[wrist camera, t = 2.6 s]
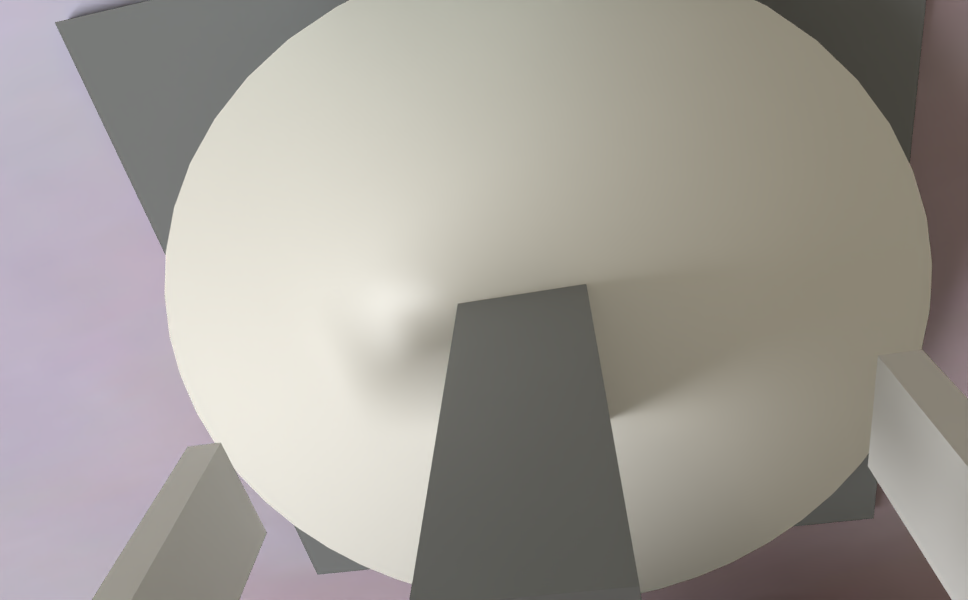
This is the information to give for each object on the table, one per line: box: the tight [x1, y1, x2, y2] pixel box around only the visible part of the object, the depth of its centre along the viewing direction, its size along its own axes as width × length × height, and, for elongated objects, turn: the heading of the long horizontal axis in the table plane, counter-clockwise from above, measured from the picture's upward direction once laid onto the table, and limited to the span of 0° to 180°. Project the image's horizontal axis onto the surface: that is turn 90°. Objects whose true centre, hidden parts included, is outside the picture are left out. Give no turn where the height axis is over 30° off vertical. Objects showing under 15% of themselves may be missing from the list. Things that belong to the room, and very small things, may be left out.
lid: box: [165, 0, 932, 600], centre depth 14 cm, size 18×18×10 cm
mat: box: [55, 0, 926, 574], centre depth 19 cm, size 19×19×1 cm
